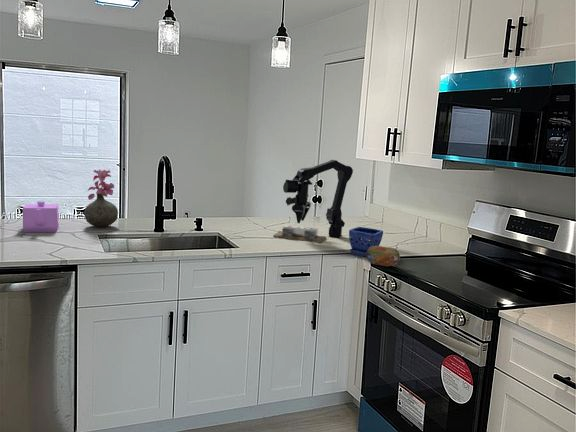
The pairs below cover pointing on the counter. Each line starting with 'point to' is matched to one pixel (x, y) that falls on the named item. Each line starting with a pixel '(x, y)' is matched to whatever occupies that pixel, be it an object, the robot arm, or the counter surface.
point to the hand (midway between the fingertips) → (300, 221)
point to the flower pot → (364, 239)
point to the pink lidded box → (40, 217)
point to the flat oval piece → (383, 256)
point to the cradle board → (299, 235)
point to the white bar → (301, 229)
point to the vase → (101, 203)
